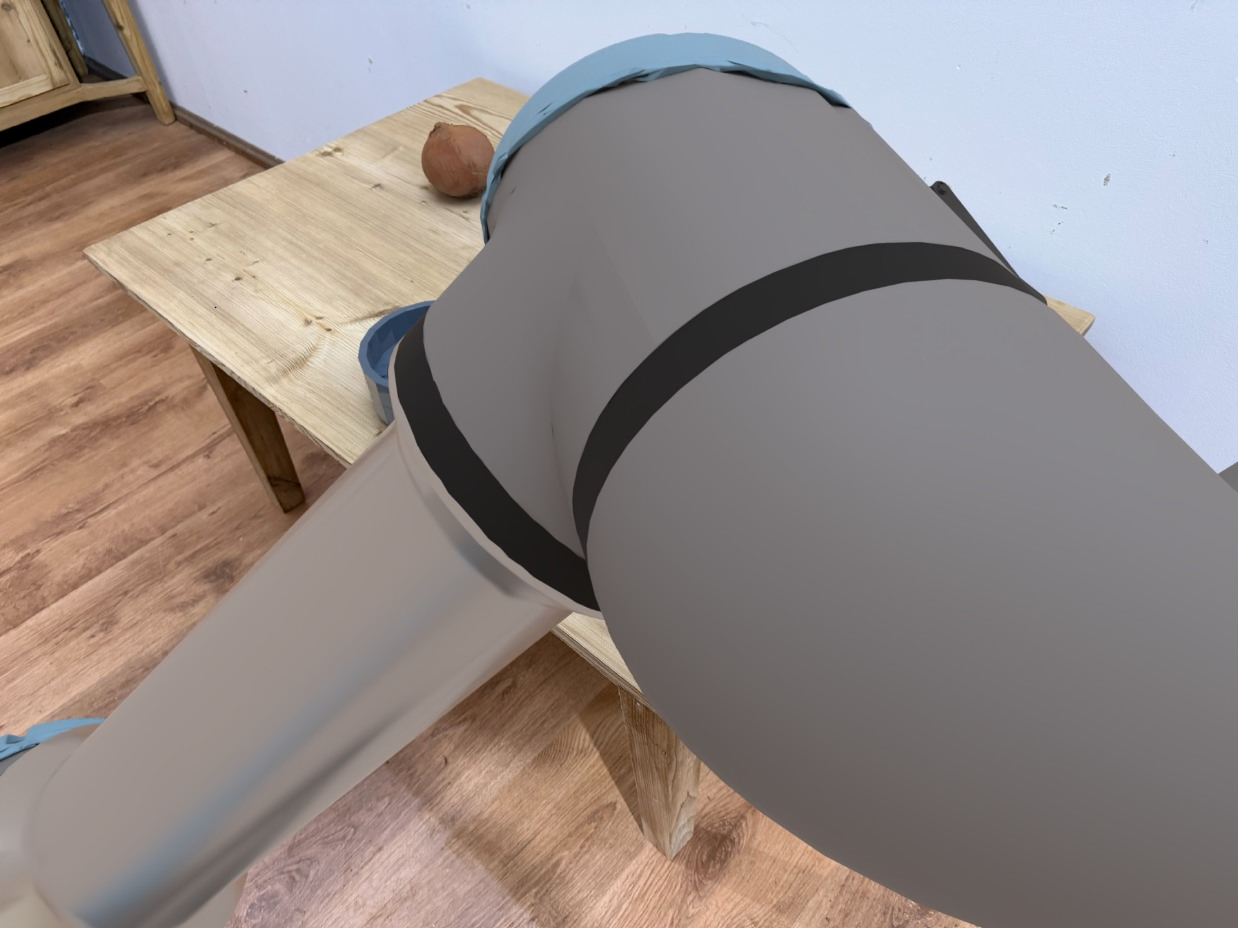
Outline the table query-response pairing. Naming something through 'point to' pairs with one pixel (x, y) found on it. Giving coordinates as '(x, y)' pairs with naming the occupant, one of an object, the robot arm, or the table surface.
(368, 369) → the bowl
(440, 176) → the onion
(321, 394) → the table surface
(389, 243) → the table surface
